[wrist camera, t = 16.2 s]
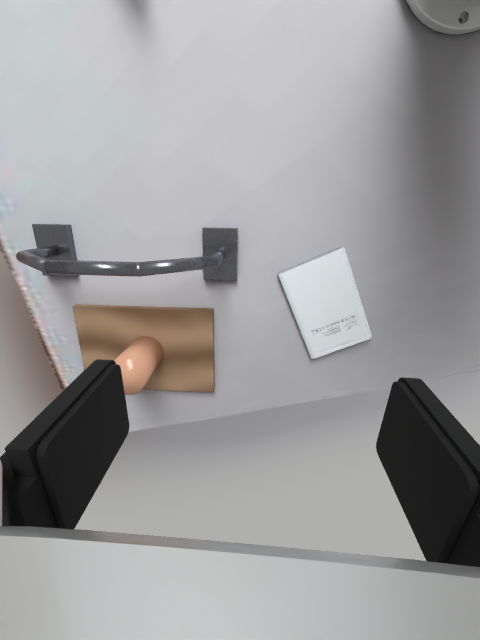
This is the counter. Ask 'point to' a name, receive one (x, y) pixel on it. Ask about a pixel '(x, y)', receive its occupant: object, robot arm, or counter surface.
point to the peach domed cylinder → (139, 363)
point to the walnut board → (166, 327)
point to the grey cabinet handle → (60, 260)
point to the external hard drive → (326, 303)
